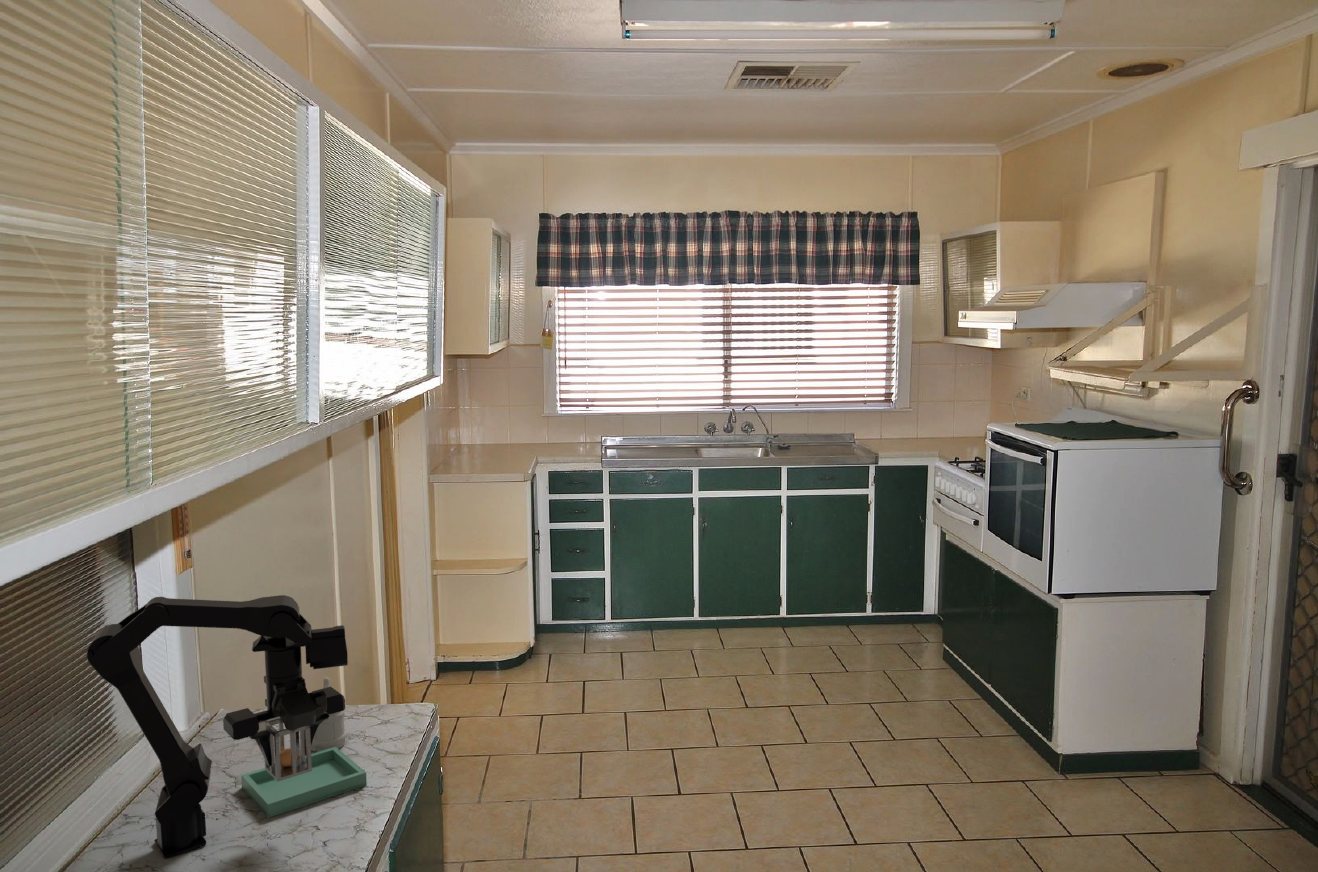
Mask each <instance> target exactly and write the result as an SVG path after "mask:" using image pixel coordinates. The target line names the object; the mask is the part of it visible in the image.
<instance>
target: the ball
mask: <svg viewBox="0 0 1318 872" xmlns="http://www.w3.org/2000/svg"><path fill="white" fill-rule="evenodd" d="M297 758H298V755H297V752H296V761H297ZM280 764H281V765H283V766H285V767H290V766H291V749H290V747H288V748H285V750H283V751H282V752H281V753H280Z"/></svg>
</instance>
